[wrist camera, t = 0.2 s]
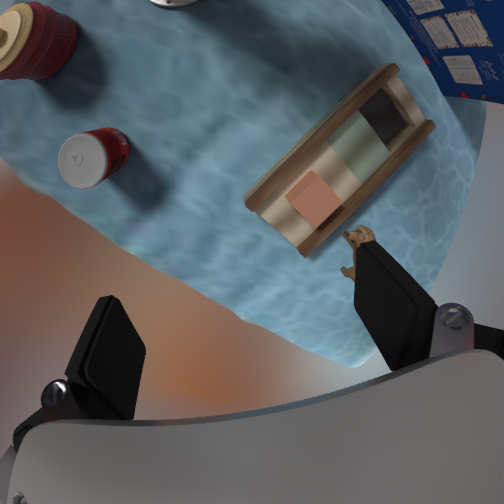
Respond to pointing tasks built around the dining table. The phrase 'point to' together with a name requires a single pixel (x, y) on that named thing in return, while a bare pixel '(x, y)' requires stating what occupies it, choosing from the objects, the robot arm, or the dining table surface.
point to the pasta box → (458, 43)
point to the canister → (35, 41)
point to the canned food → (92, 157)
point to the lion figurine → (356, 245)
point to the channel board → (344, 156)
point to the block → (313, 198)
